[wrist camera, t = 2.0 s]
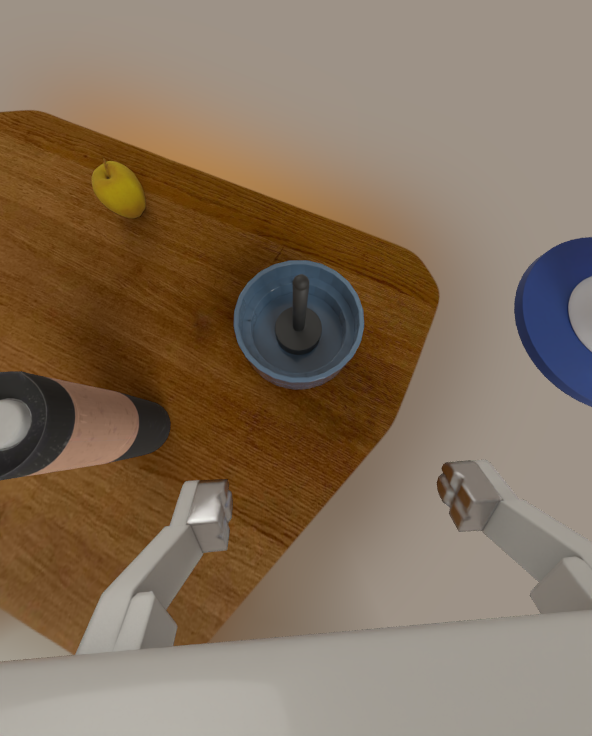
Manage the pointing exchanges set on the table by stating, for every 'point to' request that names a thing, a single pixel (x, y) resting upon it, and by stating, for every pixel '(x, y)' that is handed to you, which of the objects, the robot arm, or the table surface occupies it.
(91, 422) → the travel mug
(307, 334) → the joystick
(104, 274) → the table surface
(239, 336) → the bowl
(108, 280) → the table surface
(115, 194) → the yellow fruit
